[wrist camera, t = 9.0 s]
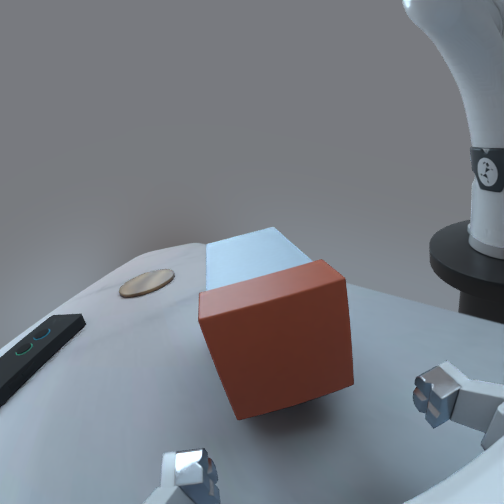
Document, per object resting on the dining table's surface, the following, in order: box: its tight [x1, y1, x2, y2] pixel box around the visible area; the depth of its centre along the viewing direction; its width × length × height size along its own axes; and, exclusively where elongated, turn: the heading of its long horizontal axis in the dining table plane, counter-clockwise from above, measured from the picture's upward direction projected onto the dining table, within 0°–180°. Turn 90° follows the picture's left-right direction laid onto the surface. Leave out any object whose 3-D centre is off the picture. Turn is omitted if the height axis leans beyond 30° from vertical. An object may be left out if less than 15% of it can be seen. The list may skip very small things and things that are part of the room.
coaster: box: [119, 269, 174, 297], centre depth 48 cm, size 10×10×1 cm
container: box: [198, 227, 354, 420], centre depth 20 cm, size 7×14×7 cm, turn 9°
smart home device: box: [0, 314, 86, 406], centre depth 29 cm, size 8×2×20 cm
